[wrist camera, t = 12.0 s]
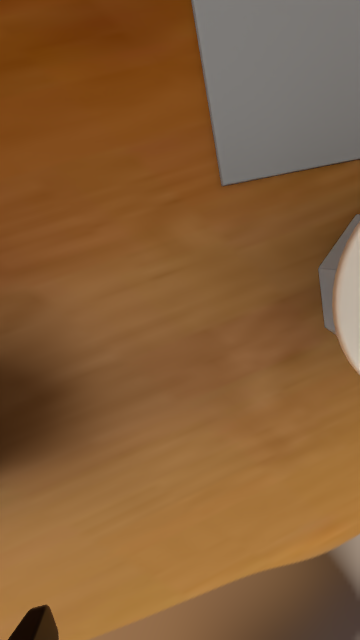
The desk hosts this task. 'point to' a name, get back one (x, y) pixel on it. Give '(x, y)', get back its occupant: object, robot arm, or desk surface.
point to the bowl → (333, 273)
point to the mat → (280, 83)
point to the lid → (348, 300)
